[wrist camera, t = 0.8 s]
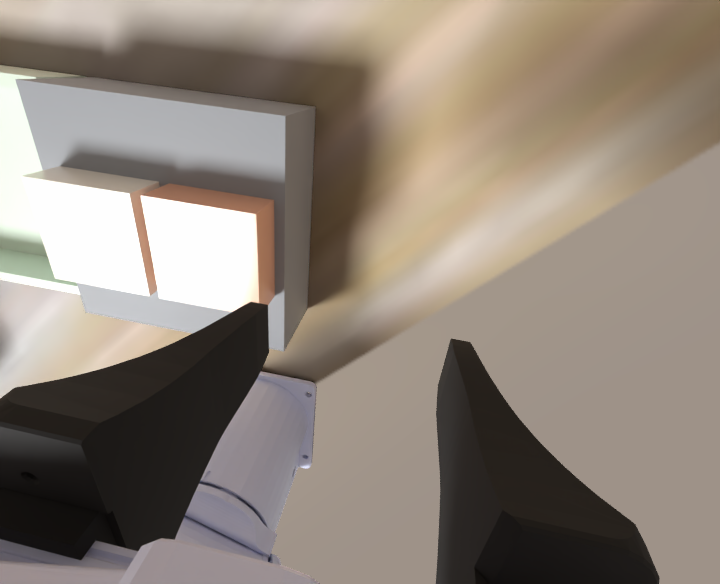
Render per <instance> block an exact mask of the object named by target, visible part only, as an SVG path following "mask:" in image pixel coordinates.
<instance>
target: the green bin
mask: <svg viewBox="0 0 720 584" xmlns="http://www.w3.org/2000/svg"><path fill="white" fill-rule="evenodd" d="M85 77H86V76H81V75H73V74H66V73H58V72H51V71H43V70H36V69H28V68H21V67H13V66H6V65H0V280H6V281H11V282H16V283H21V284H26V285H32V286H37V287H42V288H47V289H52V290H58V291H63V292H68V293H73V294H78V295H80V292H79V289H78V285H77V283H76V282H71V281H65V280H60V279H55V277H54V274H53V271H52V268H51V265H50V262H49V259H48V256H47V253H46V250H45V247H44V244H43V241H42V238H41V235H40V232H39V229H38V226H37V223H36V220H35V217H34V214H33V211H32V208H31V205H30V202H29V199H28V196H27V193H26V190H25V187H24V184H23V181H22V178H21V176H23V175H27V174H31V173H35V172H38V171H42V166H41V163H40V160H39V156H38V153H37V150H36V146H35V143H34V140H33V137H32V133H31V130H30V127H29V123H28V120H27V117H26V113H25V110H24V107H23V103H22V100H21V97H20V94H19V90H18V87H17V84H16V80H15V79H44V78H85Z"/></svg>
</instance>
